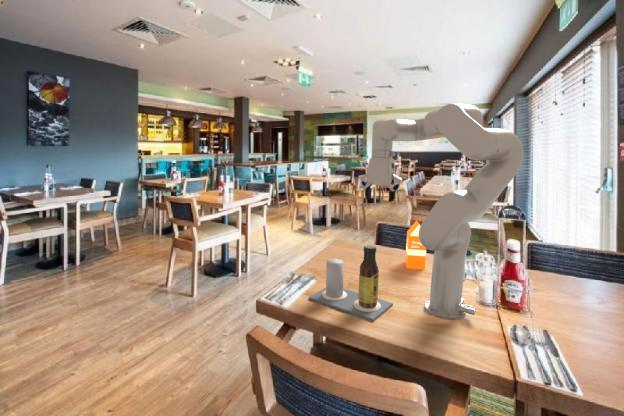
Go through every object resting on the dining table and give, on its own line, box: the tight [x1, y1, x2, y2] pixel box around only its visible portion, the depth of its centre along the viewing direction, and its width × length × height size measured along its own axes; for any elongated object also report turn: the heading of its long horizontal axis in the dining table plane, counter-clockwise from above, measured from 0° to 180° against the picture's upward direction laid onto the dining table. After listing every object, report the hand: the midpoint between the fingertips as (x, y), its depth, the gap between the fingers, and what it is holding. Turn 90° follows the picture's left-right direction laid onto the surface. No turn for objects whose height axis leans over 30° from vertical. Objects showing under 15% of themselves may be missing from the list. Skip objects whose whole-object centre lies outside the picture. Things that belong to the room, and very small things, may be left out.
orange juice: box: [405, 220, 427, 270], centre depth 156 cm, size 8×9×20 cm
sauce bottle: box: [358, 244, 380, 308], centre depth 115 cm, size 6×6×20 cm
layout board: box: [308, 258, 394, 322], centre depth 119 cm, size 25×14×13 cm, turn 53°
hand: (379, 199), depth 135 cm, fingers open, 9 cm apart
